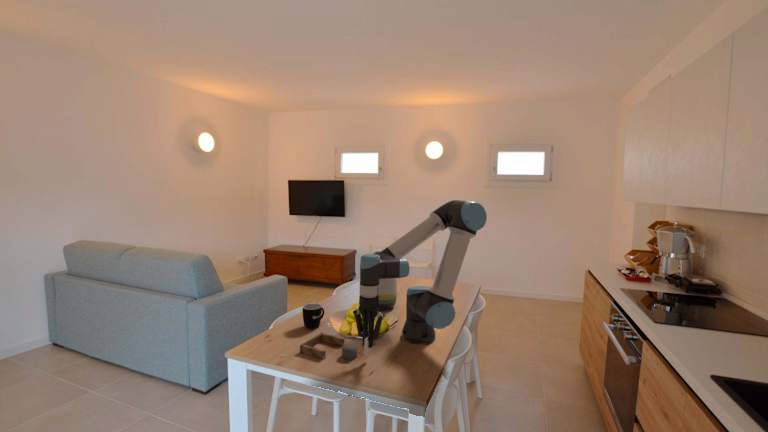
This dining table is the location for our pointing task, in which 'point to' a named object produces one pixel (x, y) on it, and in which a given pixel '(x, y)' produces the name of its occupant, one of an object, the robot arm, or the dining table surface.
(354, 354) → the puck
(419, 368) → the dining table surface
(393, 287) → the vase
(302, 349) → the corral
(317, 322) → the mug
